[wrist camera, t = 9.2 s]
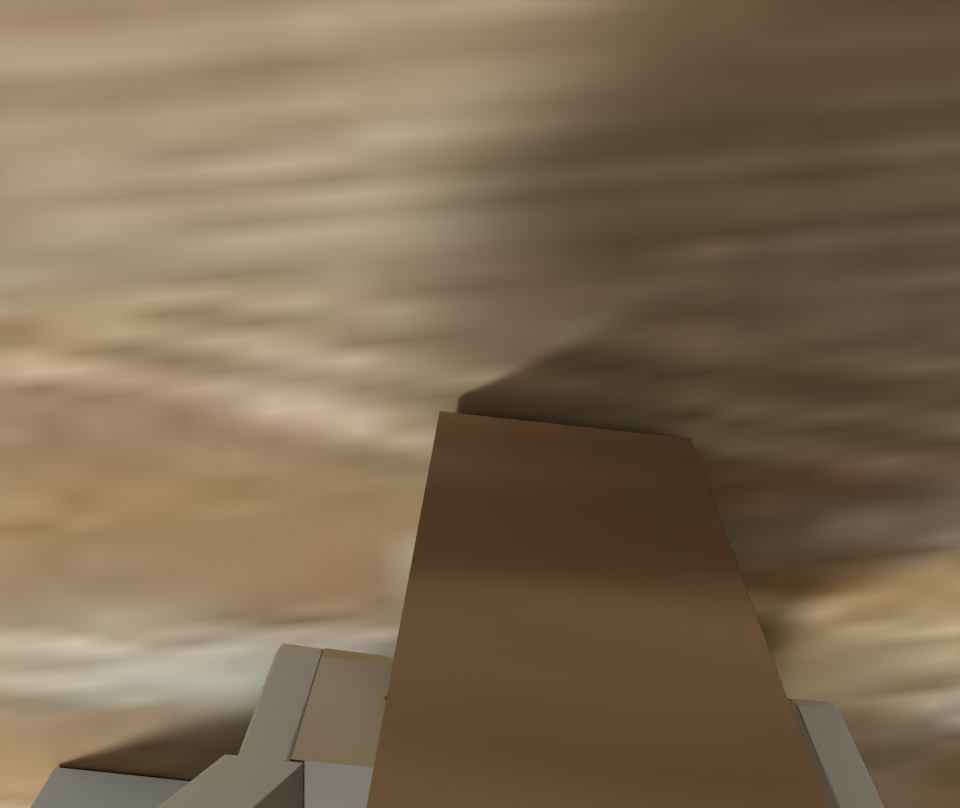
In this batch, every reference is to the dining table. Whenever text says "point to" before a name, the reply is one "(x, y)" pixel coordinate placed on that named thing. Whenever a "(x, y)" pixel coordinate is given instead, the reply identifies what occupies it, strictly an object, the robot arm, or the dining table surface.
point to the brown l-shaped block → (579, 635)
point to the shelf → (104, 790)
